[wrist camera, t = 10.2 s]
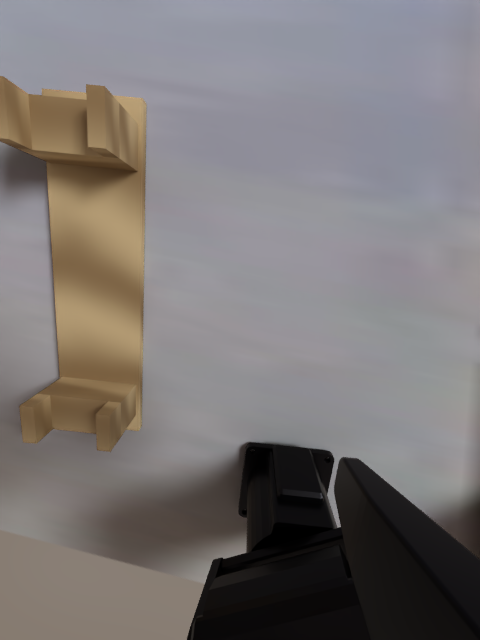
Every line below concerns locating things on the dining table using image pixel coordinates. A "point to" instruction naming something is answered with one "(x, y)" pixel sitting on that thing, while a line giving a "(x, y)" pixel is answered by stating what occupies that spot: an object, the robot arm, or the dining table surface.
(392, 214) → the dining table surface
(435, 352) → the dining table surface
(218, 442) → the dining table surface
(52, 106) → the rack
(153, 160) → the dining table surface
